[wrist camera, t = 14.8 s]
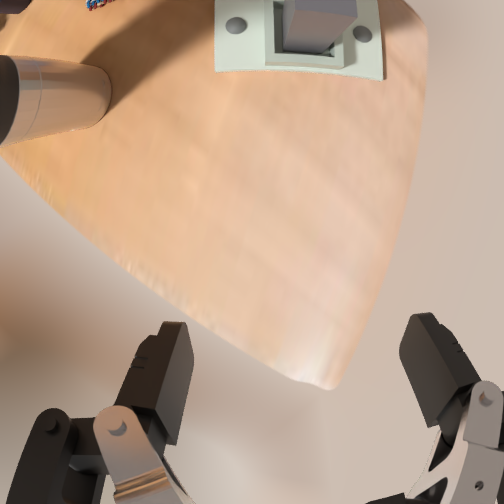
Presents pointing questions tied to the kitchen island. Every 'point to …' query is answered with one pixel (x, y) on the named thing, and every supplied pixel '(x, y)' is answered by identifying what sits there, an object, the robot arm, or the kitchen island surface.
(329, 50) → the bracket
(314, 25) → the tall grey pillar
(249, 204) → the kitchen island surface
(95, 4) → the woven mat
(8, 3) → the speaker
